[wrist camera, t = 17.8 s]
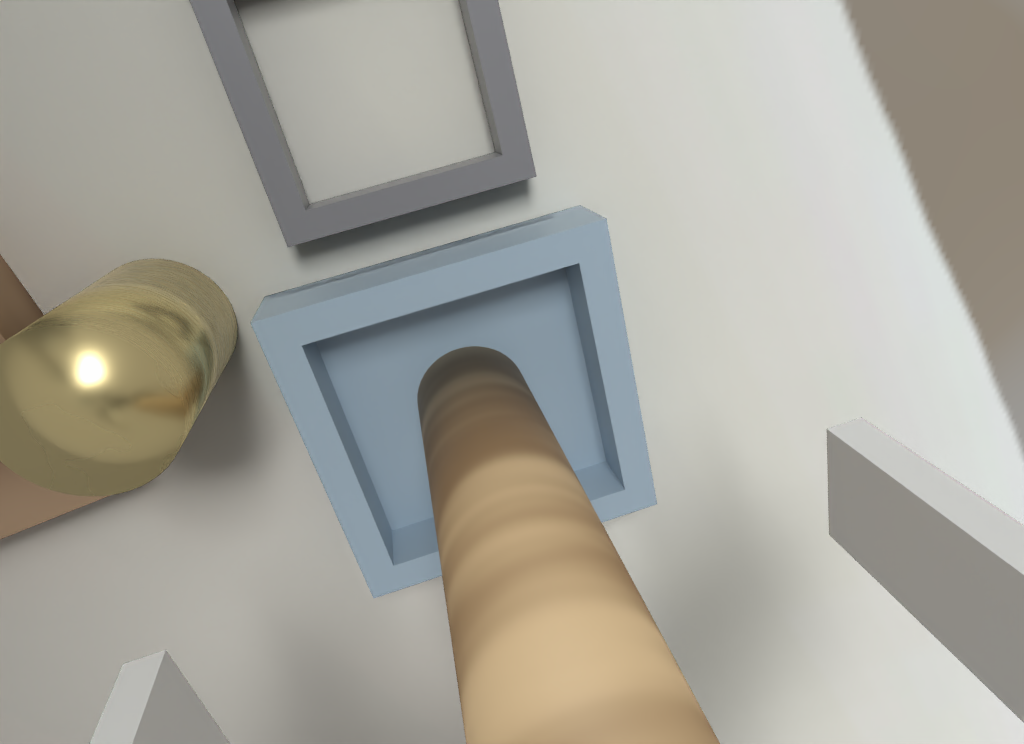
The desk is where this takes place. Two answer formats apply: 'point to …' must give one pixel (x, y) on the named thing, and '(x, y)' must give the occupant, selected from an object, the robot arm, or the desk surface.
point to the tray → (433, 333)
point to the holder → (388, 198)
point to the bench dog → (113, 378)
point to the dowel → (537, 577)
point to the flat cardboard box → (3, 494)
